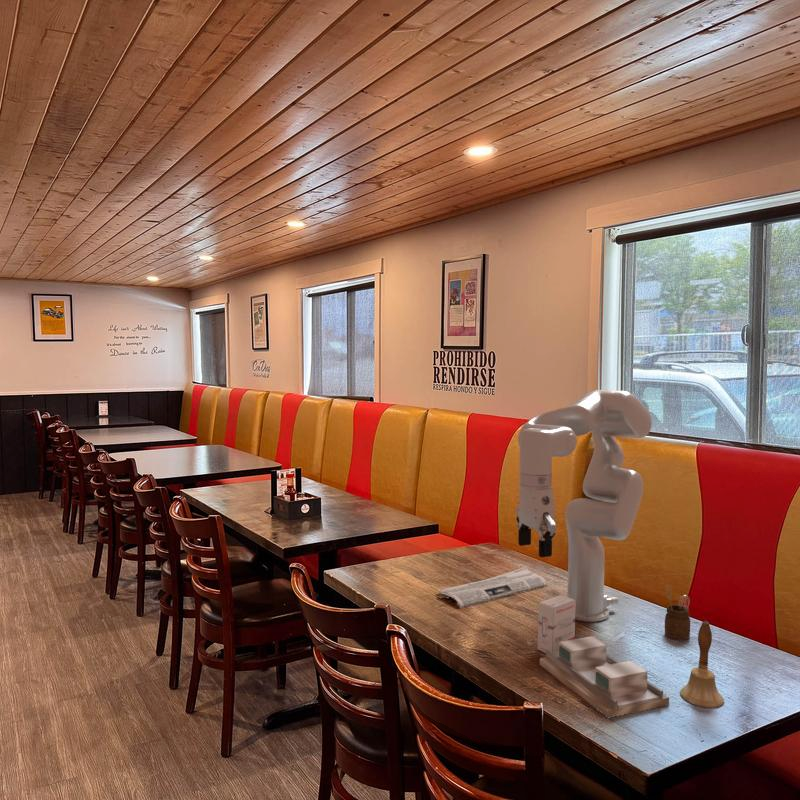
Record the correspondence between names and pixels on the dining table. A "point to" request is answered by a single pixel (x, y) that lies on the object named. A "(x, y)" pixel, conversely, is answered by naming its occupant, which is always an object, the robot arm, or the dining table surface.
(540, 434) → the robot arm
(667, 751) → the dining table surface
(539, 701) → the dining table surface
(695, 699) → the hand bell
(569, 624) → the ink box
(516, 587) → the newspaper
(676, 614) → the utensil holder
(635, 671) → the rail board
